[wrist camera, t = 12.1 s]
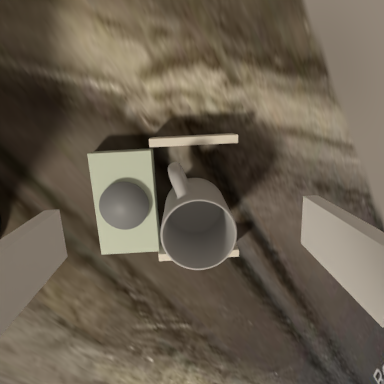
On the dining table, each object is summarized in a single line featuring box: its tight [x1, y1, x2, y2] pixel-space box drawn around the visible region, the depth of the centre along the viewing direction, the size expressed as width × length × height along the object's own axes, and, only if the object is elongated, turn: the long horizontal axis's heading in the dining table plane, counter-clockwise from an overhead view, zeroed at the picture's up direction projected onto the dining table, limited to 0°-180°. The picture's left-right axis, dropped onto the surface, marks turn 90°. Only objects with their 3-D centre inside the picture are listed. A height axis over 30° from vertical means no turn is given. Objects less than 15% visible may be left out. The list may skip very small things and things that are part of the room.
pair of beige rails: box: [87, 133, 239, 261], centre depth 38 cm, size 19×16×4 cm
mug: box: [160, 162, 237, 270], centre depth 35 cm, size 12×8×11 cm
